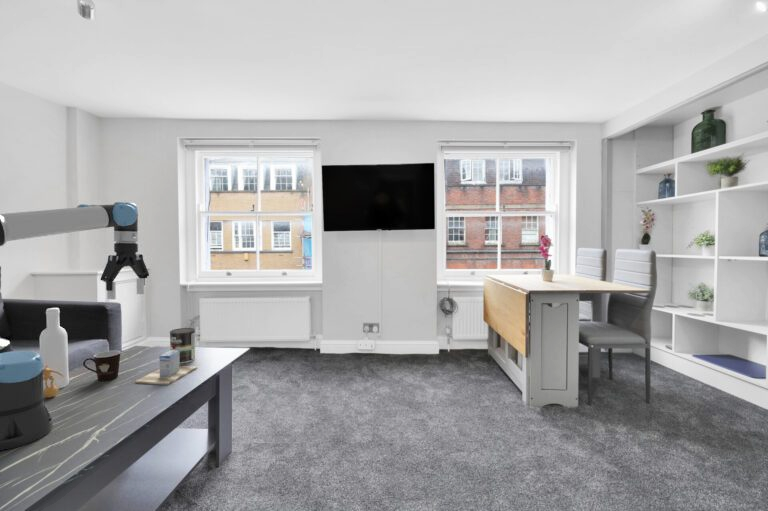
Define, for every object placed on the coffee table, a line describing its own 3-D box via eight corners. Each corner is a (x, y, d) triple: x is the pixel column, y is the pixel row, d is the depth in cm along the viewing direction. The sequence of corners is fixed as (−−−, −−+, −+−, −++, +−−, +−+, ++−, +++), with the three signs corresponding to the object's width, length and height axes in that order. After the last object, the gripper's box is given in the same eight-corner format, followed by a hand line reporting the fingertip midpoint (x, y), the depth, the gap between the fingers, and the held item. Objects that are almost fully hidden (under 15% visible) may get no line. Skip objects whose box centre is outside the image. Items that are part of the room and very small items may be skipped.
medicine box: (169, 370, 152) (168, 350, 152) (180, 369, 153) (179, 349, 152) (159, 377, 144) (158, 356, 144) (170, 377, 145) (170, 355, 144)
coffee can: (182, 365, 161) (182, 334, 160) (164, 362, 164) (164, 332, 163) (200, 357, 171) (200, 328, 170) (183, 355, 174) (183, 326, 173)
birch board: (168, 384, 139) (168, 382, 139) (135, 383, 141) (135, 381, 141) (197, 368, 157) (197, 366, 157) (167, 366, 158) (167, 365, 158)
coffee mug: (126, 374, 149) (126, 351, 148) (108, 383, 140) (108, 357, 140) (100, 373, 150) (100, 349, 150) (81, 381, 141) (80, 356, 141)
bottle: (64, 381, 142) (62, 305, 141) (72, 385, 138) (70, 308, 136) (37, 388, 135) (34, 309, 134) (44, 392, 131) (42, 311, 130)
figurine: (68, 393, 131) (67, 360, 130) (60, 400, 125) (59, 366, 125) (39, 396, 128) (37, 363, 127) (29, 403, 122) (28, 369, 122)
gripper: (106, 242, 127) (107, 301, 128) (158, 242, 152) (159, 292, 153) (87, 242, 128) (88, 301, 129) (142, 242, 153) (142, 292, 154)
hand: (126, 296), depth 141 cm, fingers open, 13 cm apart
